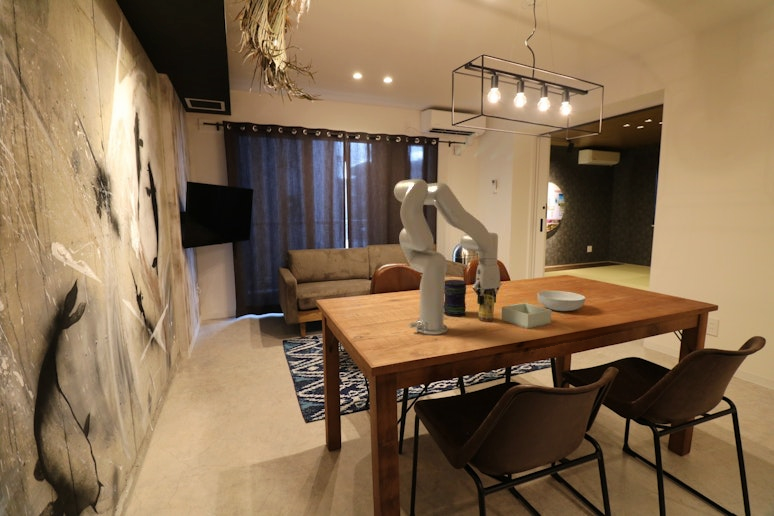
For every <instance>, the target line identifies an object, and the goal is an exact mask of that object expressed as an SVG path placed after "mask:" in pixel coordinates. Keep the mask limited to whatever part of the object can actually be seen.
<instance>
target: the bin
mask: <svg viewBox="0 0 774 516" xmlns="http://www.w3.org/2000/svg"><path fill="white" fill-rule="evenodd" d="M552 311H553V310H552V309H550V308H547V307H543V306H542V307H541V306H539V305H535V304H531V303H527V302H522V303H521V302H520V303H515V304H509V305H504V306H501V318H500V319H501V321H504V322H507V323H509V324H512V325H515V326H518V327H521V328H523V327H524V329H526V328H527V329H526V330H529V329H532V328H533V327H534V328H537V326H538V327H543V326H545V325H546V324H547V325H550V324H552Z"/></svg>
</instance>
